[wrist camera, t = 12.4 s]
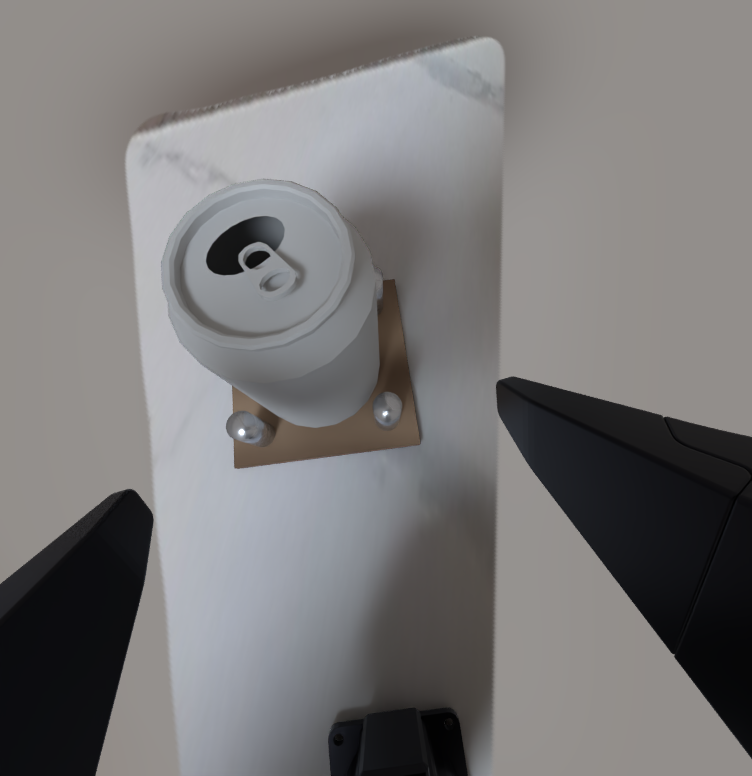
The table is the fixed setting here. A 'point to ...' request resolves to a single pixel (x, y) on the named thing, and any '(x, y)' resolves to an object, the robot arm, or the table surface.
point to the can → (277, 299)
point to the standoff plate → (353, 435)
